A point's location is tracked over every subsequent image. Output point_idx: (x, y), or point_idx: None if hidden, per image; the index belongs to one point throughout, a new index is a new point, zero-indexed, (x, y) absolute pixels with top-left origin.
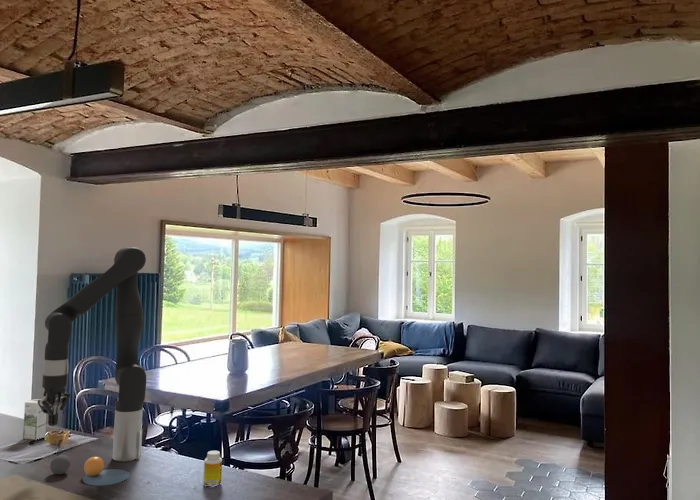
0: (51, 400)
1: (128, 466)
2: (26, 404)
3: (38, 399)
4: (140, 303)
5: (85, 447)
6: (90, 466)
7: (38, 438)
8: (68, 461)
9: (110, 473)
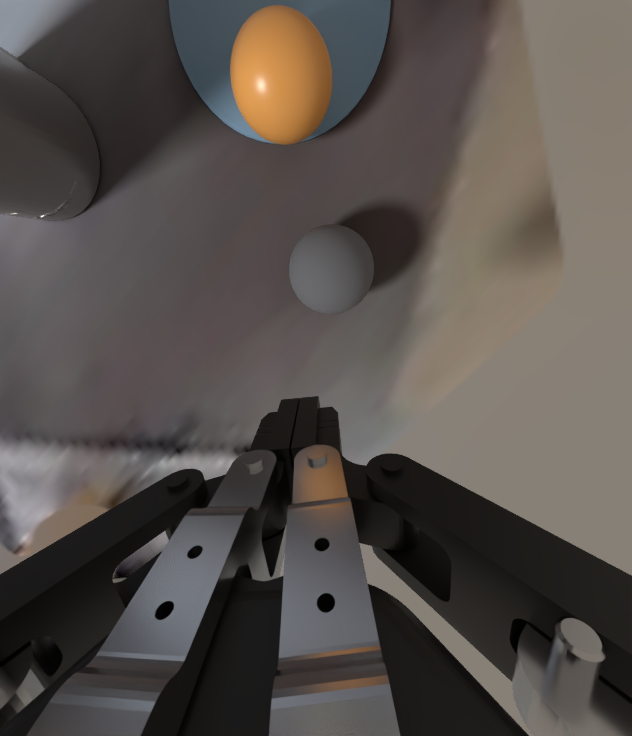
0: (454, 676)
1: (111, 32)
2: None
3: None
4: None
5: (76, 408)
6: (327, 51)
7: (122, 579)
8: (324, 228)
9: (235, 32)
